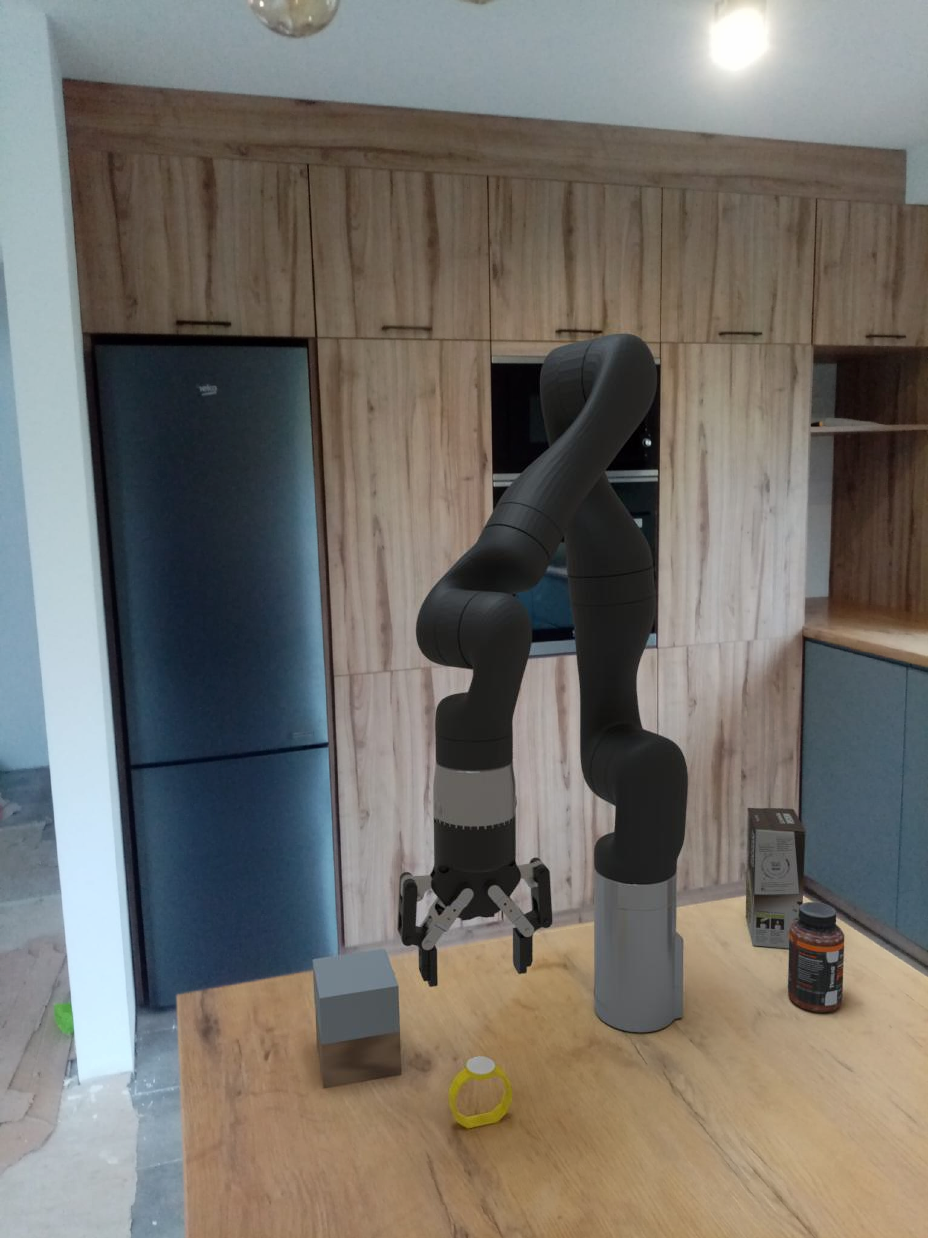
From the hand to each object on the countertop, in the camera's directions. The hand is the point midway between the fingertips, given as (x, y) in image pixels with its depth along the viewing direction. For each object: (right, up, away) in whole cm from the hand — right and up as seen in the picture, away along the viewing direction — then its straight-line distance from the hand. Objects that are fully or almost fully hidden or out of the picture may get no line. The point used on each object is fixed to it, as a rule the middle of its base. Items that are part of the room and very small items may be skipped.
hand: (475, 976), depth 83 cm
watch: (0, -15, +2) cm, 15 cm away
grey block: (-13, -9, +11) cm, 19 cm away
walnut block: (-12, -14, +12) cm, 22 cm away
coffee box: (+41, -9, +38) cm, 56 cm away
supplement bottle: (+40, -12, +21) cm, 47 cm away
